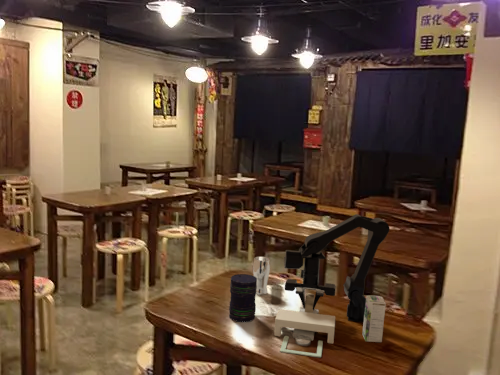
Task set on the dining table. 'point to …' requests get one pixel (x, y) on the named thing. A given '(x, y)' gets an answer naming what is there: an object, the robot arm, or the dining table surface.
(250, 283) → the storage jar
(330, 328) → the cream bridge block
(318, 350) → the frame
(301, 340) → the disc
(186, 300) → the dining table surface
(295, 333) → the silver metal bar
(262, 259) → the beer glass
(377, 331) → the syrup box
